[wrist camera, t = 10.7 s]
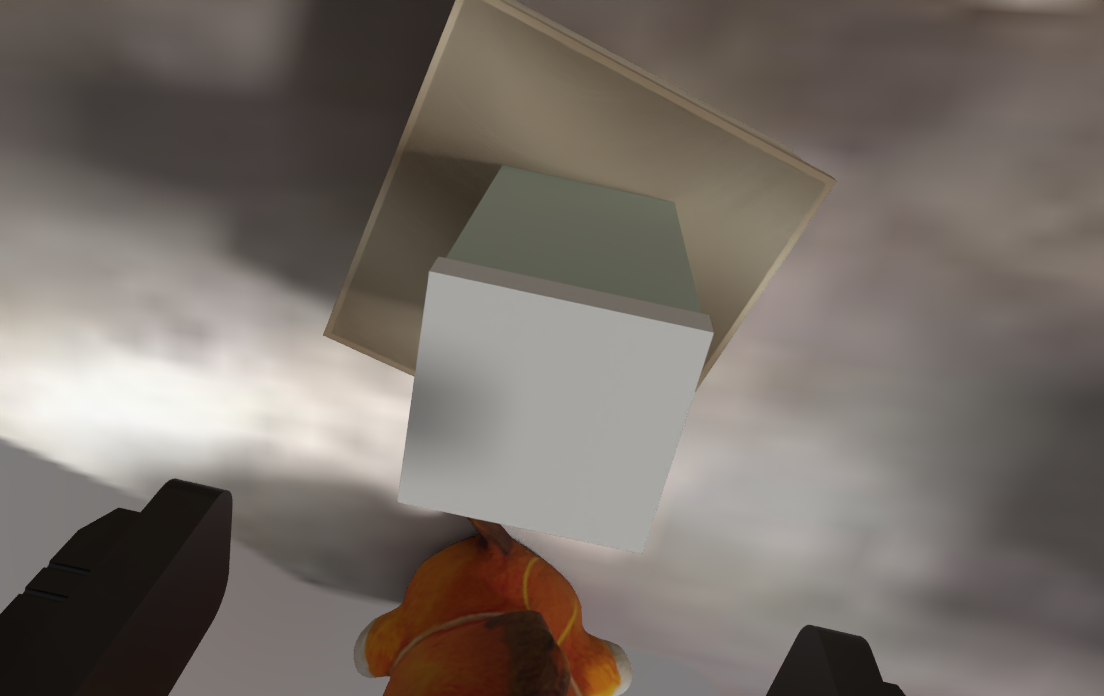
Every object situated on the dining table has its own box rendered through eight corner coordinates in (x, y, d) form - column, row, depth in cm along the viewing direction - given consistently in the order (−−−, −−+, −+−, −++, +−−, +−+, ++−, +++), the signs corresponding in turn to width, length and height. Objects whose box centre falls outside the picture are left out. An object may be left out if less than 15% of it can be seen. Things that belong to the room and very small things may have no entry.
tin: (499, 160, 22) (429, 270, 14) (679, 200, 22) (713, 332, 14) (471, 324, 24) (397, 502, 16) (634, 359, 24) (642, 554, 16)
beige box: (490, -22, 25) (463, -19, 20) (798, 144, 26) (837, 181, 22) (366, 278, 29) (322, 335, 25) (633, 404, 31) (637, 477, 26)
